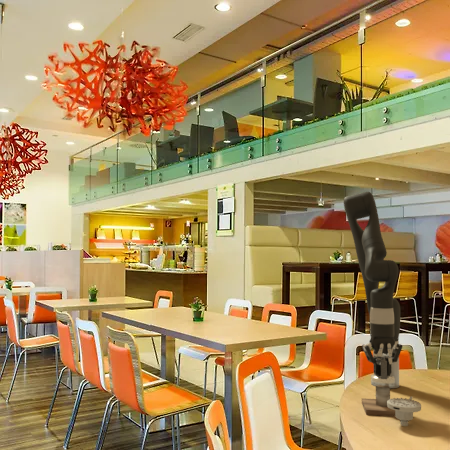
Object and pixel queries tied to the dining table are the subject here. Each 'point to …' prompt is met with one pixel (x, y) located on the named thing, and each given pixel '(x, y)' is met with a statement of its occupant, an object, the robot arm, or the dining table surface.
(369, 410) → the post base
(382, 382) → the knob
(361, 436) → the dining table surface
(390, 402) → the showerhead
